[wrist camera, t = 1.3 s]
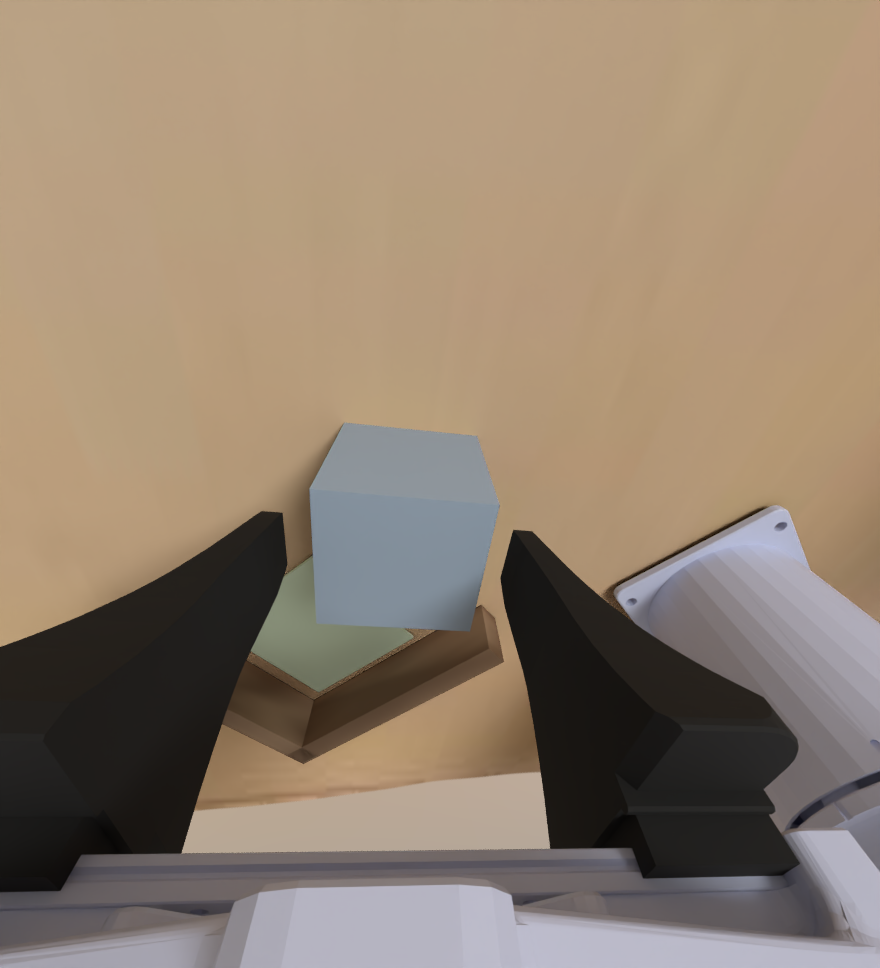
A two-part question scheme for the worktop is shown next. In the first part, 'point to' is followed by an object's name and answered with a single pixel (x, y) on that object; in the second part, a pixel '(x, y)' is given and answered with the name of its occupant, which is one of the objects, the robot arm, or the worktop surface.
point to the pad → (317, 636)
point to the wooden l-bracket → (360, 692)
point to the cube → (401, 528)
